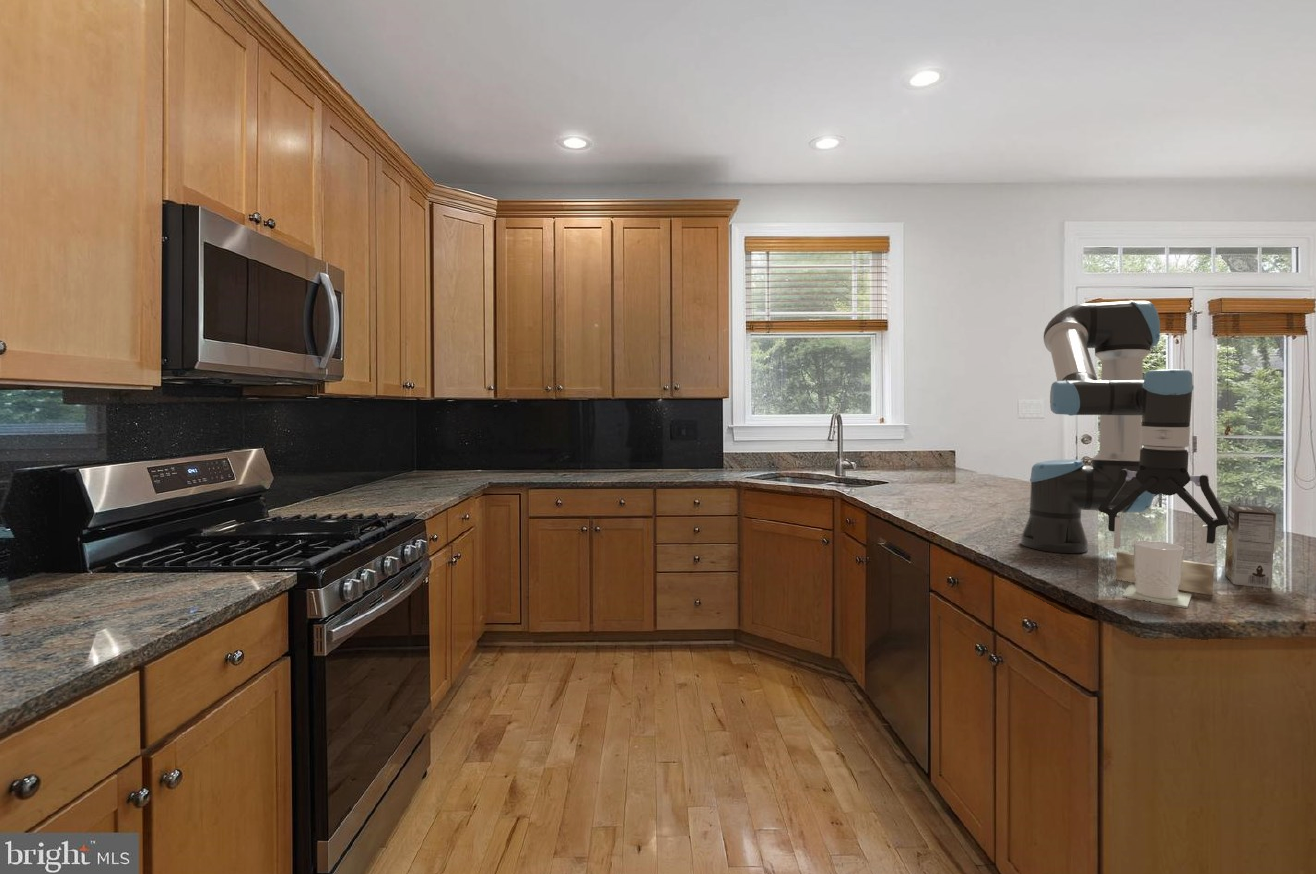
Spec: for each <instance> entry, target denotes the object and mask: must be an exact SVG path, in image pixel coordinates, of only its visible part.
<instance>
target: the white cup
mask: <svg viewBox="0 0 1316 874" xmlns="http://www.w3.org/2000/svg"><path fill="white" fill-rule="evenodd" d="M1184 553H1185V547H1183V546H1181V545H1179V544H1176V543H1169V542H1164V541H1154V540H1137V541H1134V542H1133V554H1134V569H1135V571H1134V575H1135V579H1136V580H1135V583H1134V585H1135V591H1136V592H1137V593H1139V594H1142V595H1145V596H1148V597H1154V598H1161V599H1175V598H1177V597H1178V593H1179V592H1180V590H1179V585H1180V580H1181V573H1182V563H1183V560H1184Z"/></svg>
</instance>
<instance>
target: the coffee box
mask: <svg viewBox="0 0 1316 874" xmlns="http://www.w3.org/2000/svg"><path fill="white" fill-rule="evenodd" d="M1227 517H1228V519H1229V523H1228V525H1226V542H1225V543H1226V544H1225V559H1224V560H1225V561H1224V562H1225V563H1224V575H1225V576H1226V577H1227V579H1229V580H1230V582H1231V583H1232V585H1236V586H1247V587H1252V586H1253V588H1254V587H1255V588H1261V587H1263V589H1264V588H1265V589H1270V588H1271V589H1272V582H1273V566H1274V553H1275V550H1274V549H1275V540H1276V539H1275V536H1276V524H1277V523H1276V522H1277V513H1276V512H1274V511H1272V509H1269V508H1268V507H1266V506H1256V505H1255V506H1253V505H1252V506H1251V505H1238V504H1237V505H1236V504H1228V505H1227Z"/></svg>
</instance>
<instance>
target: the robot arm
mask: <svg viewBox="0 0 1316 874" xmlns="http://www.w3.org/2000/svg"><path fill="white" fill-rule="evenodd" d="M1160 334H1161V322H1160V316H1159V312H1158V310H1157V308H1156V306H1155V305H1154V303H1152V302H1151V301H1148V300H1123V301H1122V300H1121V301H1110V302H1109V301H1107V302H1093V303H1088V302H1087V303H1080V304H1075V305H1071V306H1070V307H1067V308H1065V309H1063V310H1062V311H1060V312H1058V313H1056V315H1055V316H1054V317H1052V318H1051V320H1050V321H1049V322H1048V323H1047V325H1046V326H1045V328H1044V332H1043V343H1044V346H1045V348H1046V350H1047V351H1048V352H1049V353H1050V354H1051V358H1052V363H1053V367H1054V372H1055V376H1056V381H1054V382H1052V384H1051V386H1050V391H1049V392H1050V395H1049V405H1050V411H1051V412H1052V413H1053V414H1056V415H1066V416H1099V417H1100V418H1099V420H1100V421H1099V423H1100V424H1099V452H1098V453H1097V454H1096V455H1095V456H1093V458H1092V460H1091V465H1084V464H1085V463H1084V462H1083V460H1082V459H1077V458H1076V459H1075V458H1074V459H1056V460H1055V459H1054V460H1047V461H1046V460H1045V461H1040V462H1036V463H1035V464H1033V465H1032V467H1031V472H1030V473H1031V474H1030V479H1029V482H1030V495H1029V513H1028V514H1029V516H1028V518H1027V521H1026V524H1025V526H1024V528H1023V530H1022V533H1021V538H1020V544H1021V545H1022V546H1024V547H1026V548H1029V549H1033V550H1038V551H1041V552H1042V551H1043V552H1051V553H1060V554H1081V553H1086V552H1087V551H1088V550H1089V549H1088V548H1089V543H1088V539H1087V536H1086V532H1085V530H1084V526H1083V523H1082V519H1081V518H1082V510H1083V511H1099V512H1100V513H1103V514H1106V515H1107V516H1108V524H1107V525H1108V526H1107V527H1108V528H1107V529H1108V531H1109V532H1113V549H1117V550H1118V549H1120V547H1121V537H1122V536H1121V535H1122V515H1119V513H1123V514H1127V513H1133V514H1134V513H1135V514H1136V513H1137V514H1138V513H1144V512H1146V511H1147V510H1149V508H1150V507H1151V505H1152V503H1153V501H1154V499H1155V495H1164V496H1168V497H1169V496H1174V495H1177V496H1178V497H1179V498H1180V499H1182V500H1183V502H1185V504H1186V505H1188V507H1190V509H1191V510H1192V511H1193V512H1194V513H1195V514H1196V515H1197V516H1198V517H1199V518H1200V519H1201V520H1202V521H1203V522H1204V524H1202V526H1201V538H1200V539H1201V541H1200V556H1199V557H1200V558H1199V560H1200V561H1204V562H1206V559H1207V554H1208V553H1207V552H1208V551H1207V550H1208V549H1207V548H1208V544H1212V545H1213V544H1214V543H1215V541H1216V534H1217V533H1216V532H1217V528H1218V527H1221V526H1227V525H1228V523H1229V519H1228V514H1227V513H1226V512H1225V510H1224V509H1223V507H1222V505H1221V503H1220V502H1219V500H1218V497H1216V495H1215V493H1214V491H1213V489H1212V488H1211V486H1210V480H1209V478H1210V477H1209V475H1208V474H1207V473H1202V474H1198V475H1197V474H1193V475H1190V473H1189V471H1188V469H1189V455H1190V454H1189V453H1190V452H1189V451H1188V449H1186V448H1189V446H1190V437H1191V436H1190V435H1191V417H1192V415H1191V414H1192V400H1193V399H1192V398H1193V390H1194V384H1193V373H1192V371H1190V370H1189V369H1151V370H1150V369H1149V370H1147V371H1146V372H1144V376H1143V371H1144V370H1143V367H1144V359H1145V358H1146V357H1148V355H1150V354H1151V351H1152V348H1153V347H1155V346H1158V344H1159V343H1160V339H1161V335H1160ZM1089 349H1094V356H1095V357H1096V358H1097V359H1098V360H1100V362H1101V372H1100V373H1101V375H1100V376H1101V377H1100V379H1101V380H1099V379H1098V377H1097V373H1096V371H1095V368H1094V364H1093V360H1092V357H1091V355H1090V352H1089ZM1141 446H1143V447H1141ZM1190 482H1193V483H1194V485H1195V486H1196V487H1200V490H1201V492H1202V494H1203V495H1204V497H1205V499H1206V500H1207V502H1208V505H1209V506H1210V508H1211V509H1212V511H1213V512H1214V515H1215V516H1216V518H1214V517H1212V515H1211V514H1210V513H1209V512H1208V511H1207V510H1206V509H1205V508H1204V507H1203V505H1201V504H1200V503H1199V502H1198V501H1197V500H1196V498H1194V497H1193V495H1192V494H1190V492H1189V491H1188V490H1187V489H1186V488H1185V487H1186V486H1187V484H1189V483H1190Z"/></svg>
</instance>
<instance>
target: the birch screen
mask: <svg viewBox="0 0 1316 874" xmlns="http://www.w3.org/2000/svg"><path fill="white" fill-rule="evenodd" d="M1115 560H1116V561H1115V579H1117V581H1121V580H1122V581H1123V582H1127V581H1128V583H1129V582H1130V583H1134V584H1135V580H1136V579H1135V575H1134V571H1135V569H1134V552H1132V553H1131V552H1124V551H1117V552H1116V557H1115ZM1214 575H1215V564H1214V563H1213V564H1212V563H1205V562H1199V561H1192V560H1185V559H1183V563H1182V573H1181V580H1180V585H1179V591H1185V592H1191V593H1197V594H1203V595H1209V596H1213V594H1214V593H1213V592H1214Z"/></svg>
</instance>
